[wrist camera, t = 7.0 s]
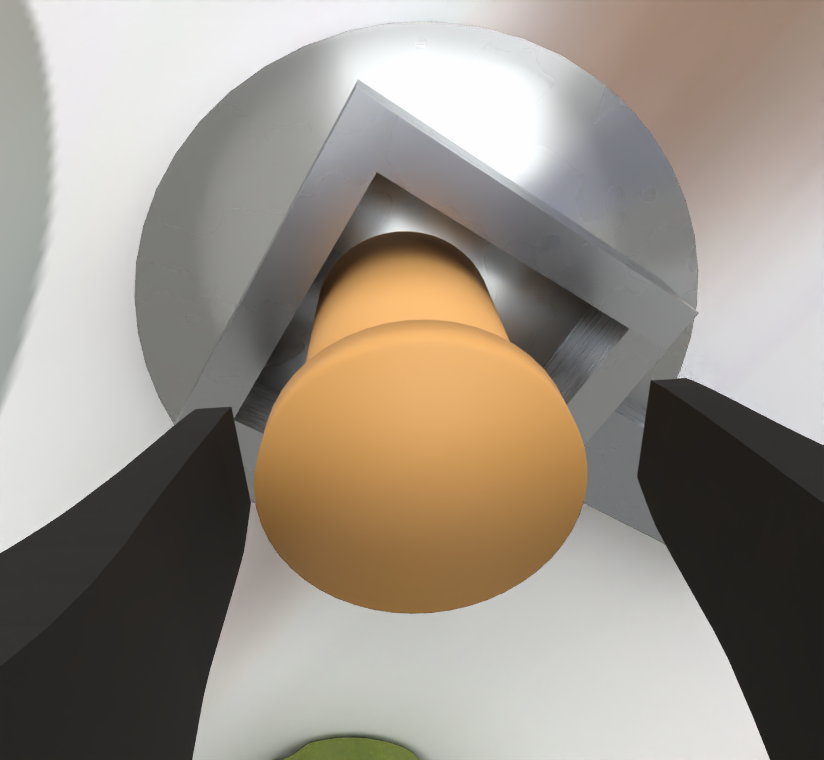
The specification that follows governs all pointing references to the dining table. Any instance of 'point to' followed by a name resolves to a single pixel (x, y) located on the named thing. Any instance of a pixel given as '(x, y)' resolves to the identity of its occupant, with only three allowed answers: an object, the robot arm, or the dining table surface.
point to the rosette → (424, 226)
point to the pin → (416, 439)
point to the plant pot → (352, 750)
